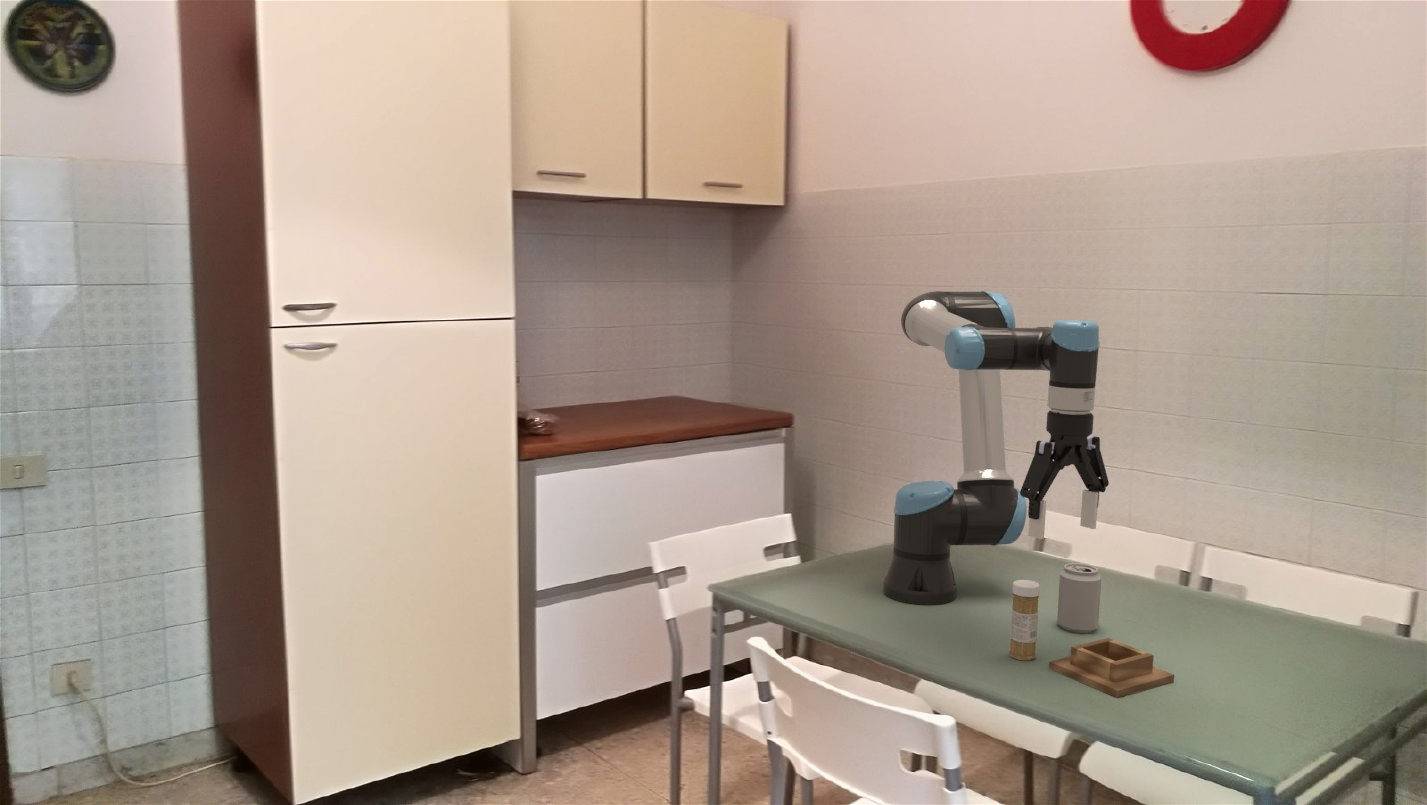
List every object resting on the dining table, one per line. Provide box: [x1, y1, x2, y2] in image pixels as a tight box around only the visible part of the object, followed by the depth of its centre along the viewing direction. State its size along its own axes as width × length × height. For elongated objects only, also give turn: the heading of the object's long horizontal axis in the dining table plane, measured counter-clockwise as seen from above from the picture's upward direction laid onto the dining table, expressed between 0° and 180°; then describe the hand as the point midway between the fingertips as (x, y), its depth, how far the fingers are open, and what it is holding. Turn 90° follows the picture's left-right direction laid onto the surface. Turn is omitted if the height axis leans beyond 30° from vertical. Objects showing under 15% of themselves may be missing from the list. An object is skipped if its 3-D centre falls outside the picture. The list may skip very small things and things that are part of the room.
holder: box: [1048, 637, 1175, 699], centre depth 174 cm, size 14×14×4 cm
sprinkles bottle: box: [1008, 579, 1041, 661], centre depth 181 cm, size 5×5×13 cm
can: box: [1056, 562, 1102, 634], centre depth 197 cm, size 8×8×12 cm
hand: (1062, 532), depth 179 cm, fingers open, 13 cm apart
